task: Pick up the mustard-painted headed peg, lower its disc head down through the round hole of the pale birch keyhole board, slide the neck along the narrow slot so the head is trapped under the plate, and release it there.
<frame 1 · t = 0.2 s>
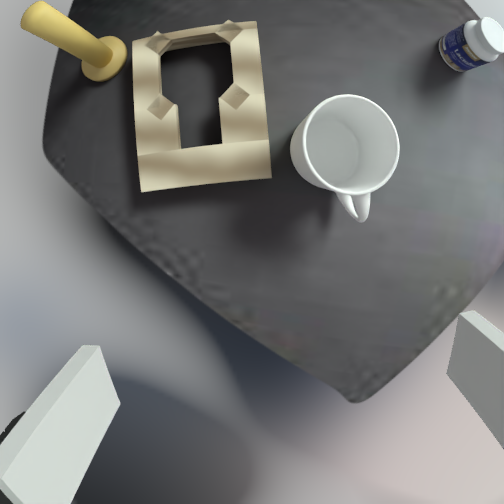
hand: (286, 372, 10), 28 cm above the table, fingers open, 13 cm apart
pill bottle: (453, 54, 31), on the table
mug: (330, 165, 35), on the table
keyhole board: (201, 106, 34), on the table
headed peg: (105, 59, 32), on the table
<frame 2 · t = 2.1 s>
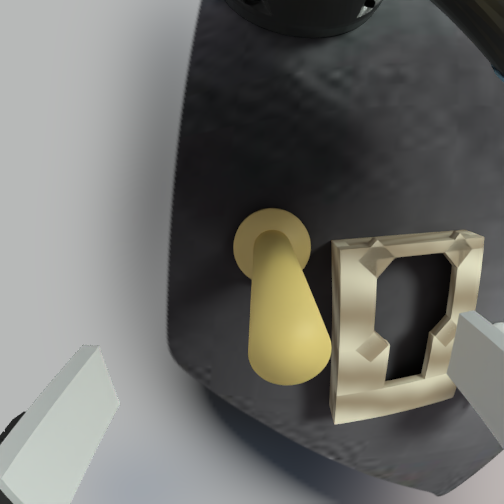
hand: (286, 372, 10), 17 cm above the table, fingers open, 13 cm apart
keyhole board: (399, 324, 28), on the table
headed peg: (271, 245, 27), on the table
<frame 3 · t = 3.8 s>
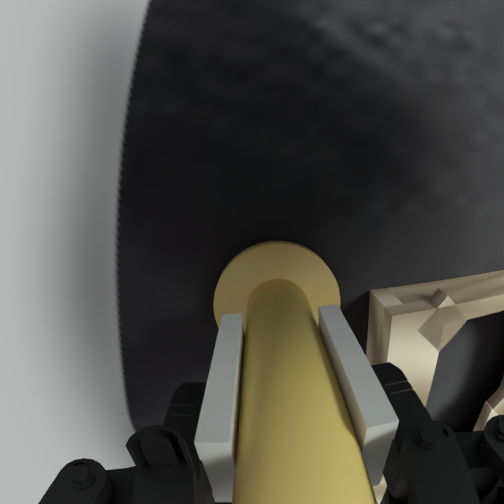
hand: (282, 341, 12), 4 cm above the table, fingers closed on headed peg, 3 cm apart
keyhole board: (447, 392, 18), on the table
headed peg: (276, 300, 16), on the table, touching gripper
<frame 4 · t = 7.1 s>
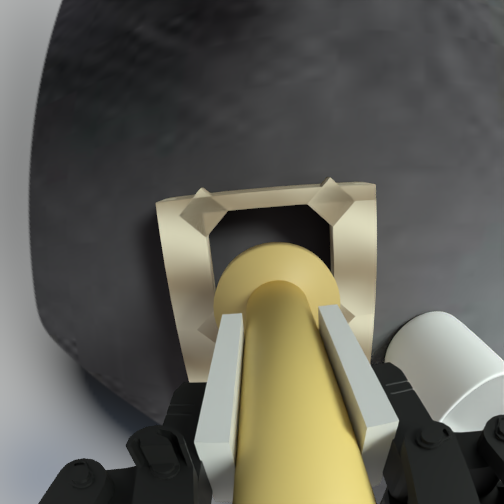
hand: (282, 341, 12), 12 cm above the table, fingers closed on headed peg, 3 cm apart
mug: (422, 361, 27), on the table
keyhole board: (274, 305, 25), on the table
headed peg: (276, 301, 16), point 8 cm above the table, touching gripper
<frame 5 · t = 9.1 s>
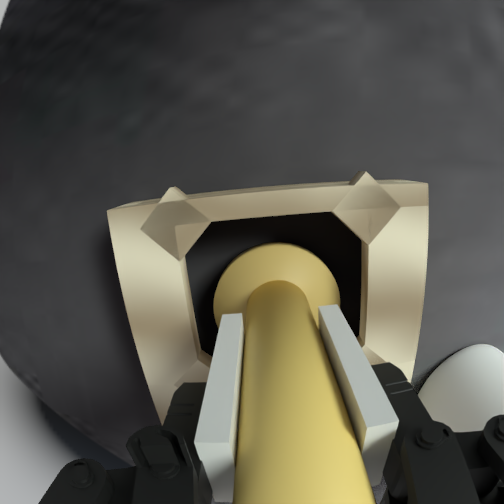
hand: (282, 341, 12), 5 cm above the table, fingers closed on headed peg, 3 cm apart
mug: (455, 400, 20), on the table
keyhole board: (279, 347, 18), on the table
headed peg: (276, 301, 16), point 1 cm above the table, touching gripper
when the fingers open (5 cm above the table, at t = 10.6 s): headed peg stays where it is, resting in keyhole board.
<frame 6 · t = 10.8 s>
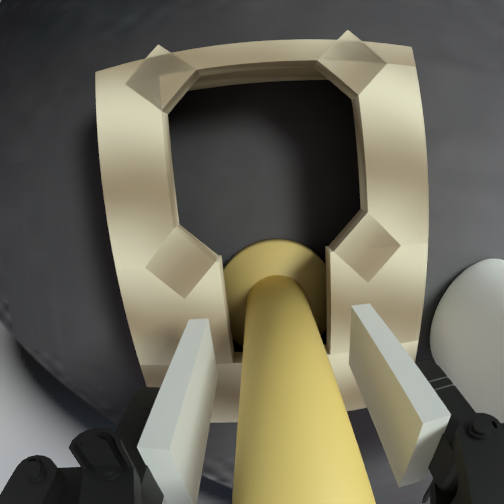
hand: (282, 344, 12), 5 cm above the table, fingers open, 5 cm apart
mug: (474, 335, 18), on the table
keyhole board: (271, 239, 16), on the table
headed peg: (275, 295, 17), resting in keyhole board
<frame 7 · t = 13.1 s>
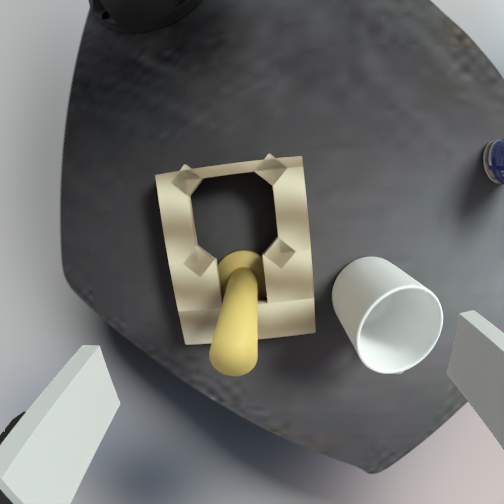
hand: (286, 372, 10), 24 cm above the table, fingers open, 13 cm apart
pill bottle: (495, 161, 31), on the table
mug: (368, 303, 36), on the table
keyhole board: (240, 250, 34), on the table
headed peg: (243, 277, 35), resting in keyhole board
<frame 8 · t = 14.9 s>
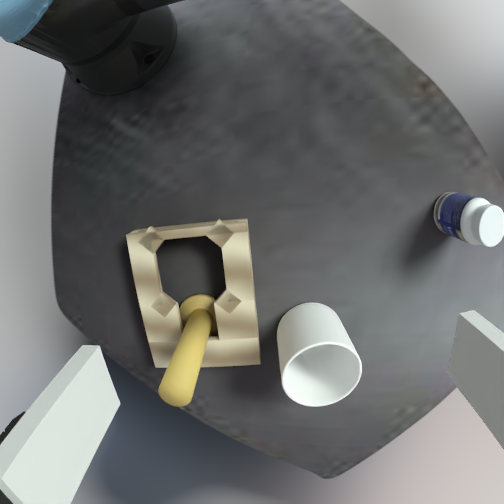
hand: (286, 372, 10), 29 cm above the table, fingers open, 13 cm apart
pill bottle: (448, 212, 37), on the table
mug: (311, 339, 42), on the table
keyhole board: (199, 294, 40), on the table
headed peg: (202, 315, 41), resting in keyhole board
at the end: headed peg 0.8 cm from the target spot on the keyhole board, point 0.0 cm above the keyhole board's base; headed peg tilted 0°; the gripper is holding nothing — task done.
